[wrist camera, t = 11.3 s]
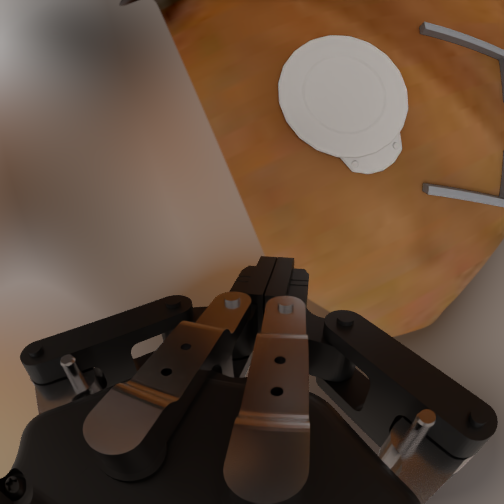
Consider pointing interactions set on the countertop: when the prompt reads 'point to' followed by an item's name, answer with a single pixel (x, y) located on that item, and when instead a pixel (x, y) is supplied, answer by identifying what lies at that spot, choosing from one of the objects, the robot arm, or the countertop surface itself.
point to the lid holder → (500, 54)
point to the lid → (345, 101)
